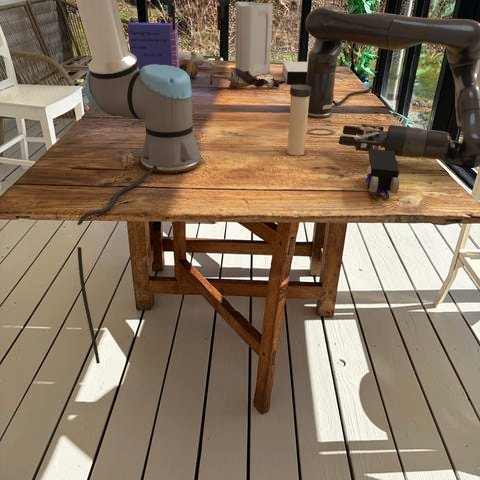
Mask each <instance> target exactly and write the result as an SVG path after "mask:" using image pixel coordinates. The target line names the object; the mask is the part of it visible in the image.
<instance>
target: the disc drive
mask: <svg viewBox="0 0 480 480" xmlns="http://www.w3.org/2000/svg"><path fill="white" fill-rule="evenodd" d="M307 67H308V61H282V69H281V71H282V74H283V76H284V80H286V84H287V85H306V79H307Z"/></svg>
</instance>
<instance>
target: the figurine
mask: <svg viewBox="0 0 480 480" xmlns="http://www.w3.org/2000/svg"><path fill="white" fill-rule="evenodd" d="M230 69H231V72H230V73H231V74H230V76H229V75H225V74H213V73H211V74H210V78H209V85H212V84H213V83H214V79H215V78H216V79H223V80H227V81H229V84H228V88H229V89H241V88H247V87H249V86H255V87H256V88H262V87H268V88H271V89H273V88H280V86H281V85H284V84H287V81H286V79H275V78H274V77H272V78H265V77H262V78H261V77H257V76H252V75H251V73H250V72H249V71H245V72H244V71H242V70H240V69H237V68H235V67H232V66H231V67H230Z"/></svg>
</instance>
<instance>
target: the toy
mask: <svg viewBox="0 0 480 480" xmlns="http://www.w3.org/2000/svg"><path fill="white" fill-rule="evenodd" d="M178 52H179V62H180V61H181V59H183V58H185V59H189V60H190V59H191V57H192V55H191V52H187V51H178ZM194 52H195V53H196V59H195V61H194V62H195V64H196V66H197V68H198V69H199V66H202V65H204V64H209V65H210V66H211V67H213V68H214V67H217V66H216V63H215V62H214V61H213V60H211V59H209V58H206V59H205V57H204V56H203V55H201V54H198V52H197V51H194Z"/></svg>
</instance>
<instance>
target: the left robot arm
mask: <svg viewBox="0 0 480 480" xmlns="http://www.w3.org/2000/svg"><path fill="white" fill-rule="evenodd" d="M175 1H176V0H161V3H163V4H165V5H167V15H168V18H171V21H172V23H173V30H175V23H176V11H175V4H173V3H174V2H175ZM216 1H217V3H218V4H219V5H216V17H217V18H216V30H217V31H221V30H222V29H221V27H222V26H221V24H222V23H221V22H222V21H221V19H224V18H225V6H227V5H230V4H231V0H216ZM75 3H76V6H77V10H78V14H79V17H80V20H81V24H82V27H83V30H84V34H85V37H86V41H87V45H88V48H89V51H90V54H91V60H90V62H89V63H88V71H87V72H86V75H85V79H84V80H85V81H86V82H84V92H85V95H86V99H87V101H88V102H89V103H90V105H91V107H93V108H94V109H95V110H96V111H98V112H100V113H103V114H106V115H109V116H111V117H112V116H113V117H121V118H122V117H124V118H128V119H136V120H142V121H144V125H145V138H144V142H143V146H142V150H141V154H140V162H141V166H142V168H144V169H145V170H146V171H147V172H146V173H144V175H142V176H141V177H140V178H139V179H138V180H136V182H134V183H132V184H130V185H127V186H125V187H123V188H122V189H120V190H118V191H117V192H116V193H115V194H114V195H113V196H112V198H111V200H110V202H109V204H108V205H107V206H106V207H104V208H101V209H96V210H91V211H88V212H86V213H84V214H82V216H81V217H80V218H79V219H78V222H77V223H76V224H77V226H81V225H82V224H83V223H84V221H85V220H86V219H87V218H88V217H91V216H94V215H98V214H99V215H100V214H103V213H106V212H108V211H109V210H110V209H111V208H112V207H113V206H114V205H115V203H116V200H117V198H118V197H119V196H121V195H122V194H123V193H125V192H127V191H130V190H132V189H134V188H135V187H137V186H139V185H140V184H141V183H142V182H143V181H145V179H146V178H147V177H148V176H150V174H152V173H156V174H163V175H164V174H165V175H169V174H170V175H172V174H173V175H175V174H182V173H187V172H190V171H193V170H195V169H197V168H198V167H199V166H201V163H202V155H201V151H200V149H199V146H198V143H197V141H196V137H195V135H194V130H193V129H194V126H193V97H192V96H193V89H192V83H191V78H190V77H189V75H188V74H187V73H186V72H185V71H184V70H182V69H180V68H177V67H173V66H168V65H157V64H154V65H146V66H144V67H142V68H141V70H139V67H138V63H137V58H136V56H134V55H133V54H131V53H130V50H129V48H128V44H127V39H126V35H125V32H124V27H123V23H122V18H121V13H120V11H119V5H118V2H117V0H75ZM82 252H83V251H82V247H80V246H77V263H78V273H79V282H80V289H81V294H82V300H83V303H84V304H83V305H84V308H85V309H84V310H85V315H86V320H87V324H88V329H89V333H90V338H91V341H92V347H93V351H94V358H95V362H96V364H97V365H98V364H100V362H101V361H100V357H99V355H100V354H99V349H98V345H97V340H96V336H95V335H96V334H95V330H94V326H93V320H92V316H91V312H90V306H89V301H88V297H87V290H86V284H85V277H84V267H83V256H82V255H83V253H82Z"/></svg>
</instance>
